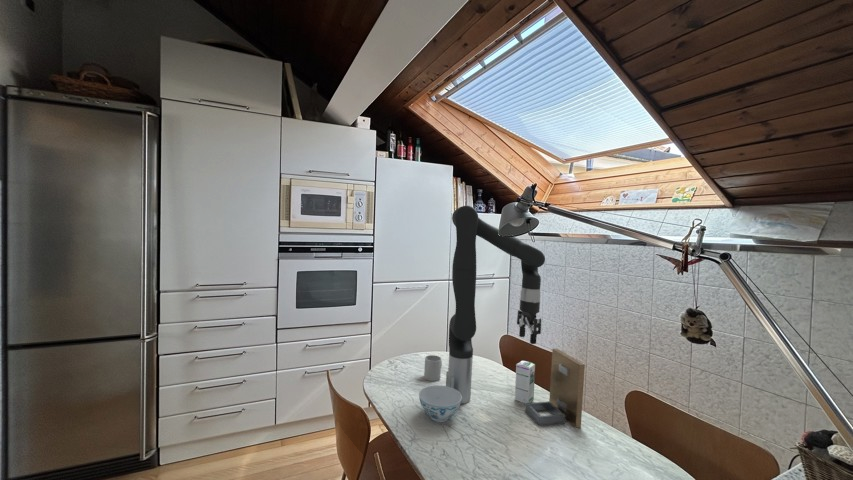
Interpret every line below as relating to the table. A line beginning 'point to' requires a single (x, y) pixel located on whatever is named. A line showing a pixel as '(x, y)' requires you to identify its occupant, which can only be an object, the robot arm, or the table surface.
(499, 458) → the table surface
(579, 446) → the table surface
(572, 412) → the wooden board with tray
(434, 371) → the cup
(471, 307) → the robot arm
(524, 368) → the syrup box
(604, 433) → the table surface
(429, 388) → the chinaware
